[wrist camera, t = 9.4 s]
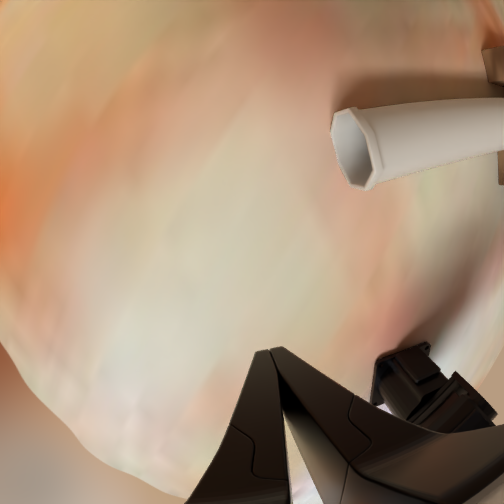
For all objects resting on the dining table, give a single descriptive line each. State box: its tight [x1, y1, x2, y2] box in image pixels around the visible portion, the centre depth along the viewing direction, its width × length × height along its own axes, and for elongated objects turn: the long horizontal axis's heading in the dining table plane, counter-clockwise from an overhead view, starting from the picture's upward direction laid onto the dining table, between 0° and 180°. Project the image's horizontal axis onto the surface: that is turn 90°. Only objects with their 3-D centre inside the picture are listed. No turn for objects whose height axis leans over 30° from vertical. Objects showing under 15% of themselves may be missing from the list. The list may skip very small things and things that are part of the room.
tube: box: [330, 98, 504, 191], centre depth 18 cm, size 5×5×25 cm
